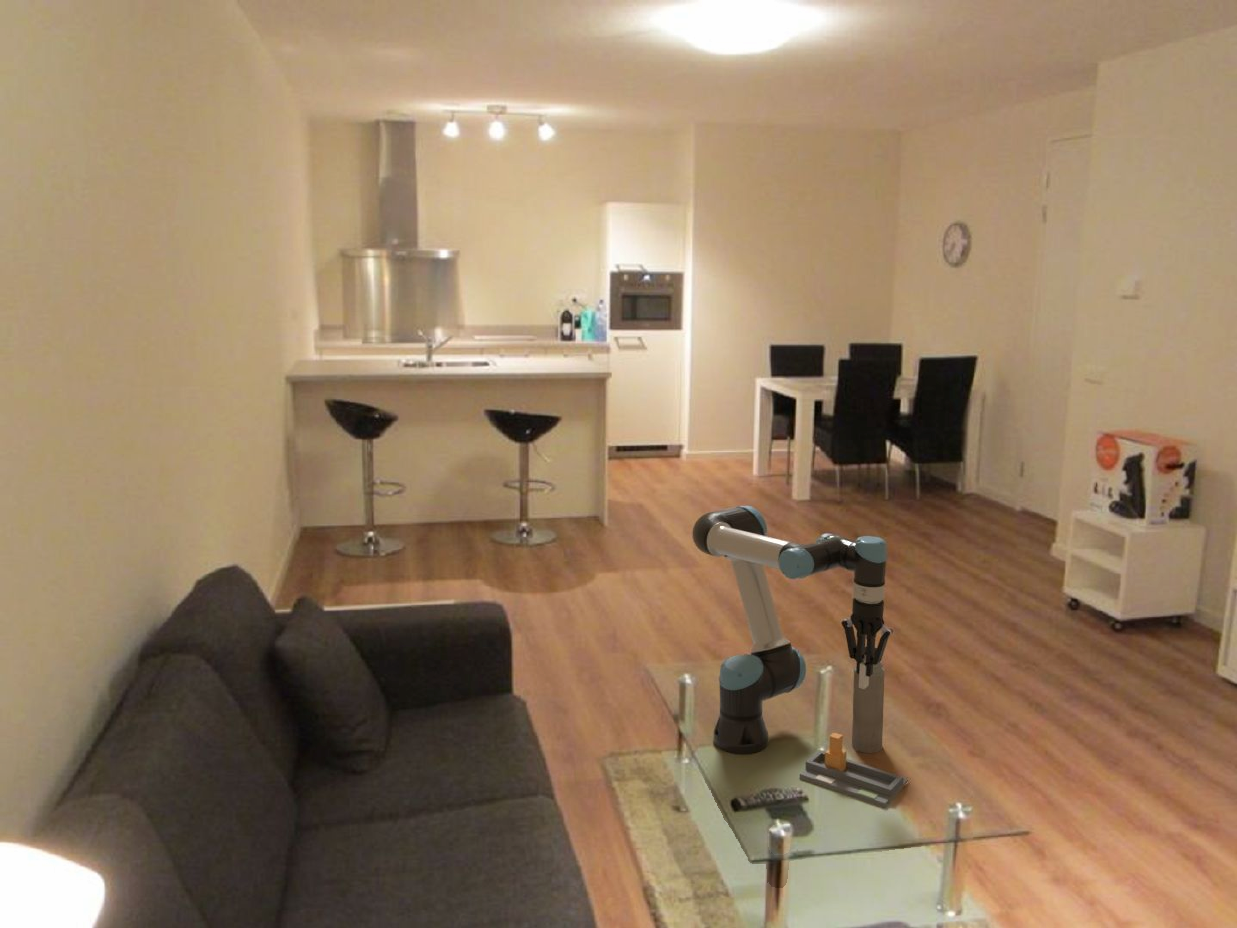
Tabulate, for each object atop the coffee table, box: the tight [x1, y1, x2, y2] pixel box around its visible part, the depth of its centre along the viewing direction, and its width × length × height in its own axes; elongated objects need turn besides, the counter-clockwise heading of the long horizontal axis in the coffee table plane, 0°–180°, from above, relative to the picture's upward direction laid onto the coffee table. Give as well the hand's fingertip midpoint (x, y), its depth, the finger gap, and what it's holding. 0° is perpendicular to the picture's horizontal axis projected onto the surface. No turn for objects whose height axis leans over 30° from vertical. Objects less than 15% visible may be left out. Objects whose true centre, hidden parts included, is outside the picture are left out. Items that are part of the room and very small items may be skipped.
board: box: [799, 749, 909, 808], centre depth 241 cm, size 23×14×3 cm, turn 51°
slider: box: [824, 732, 848, 771], centre depth 243 cm, size 4×4×9 cm
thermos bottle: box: [851, 646, 886, 754], centre depth 256 cm, size 8×8×28 cm
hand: (863, 686), depth 241 cm, fingers closed
